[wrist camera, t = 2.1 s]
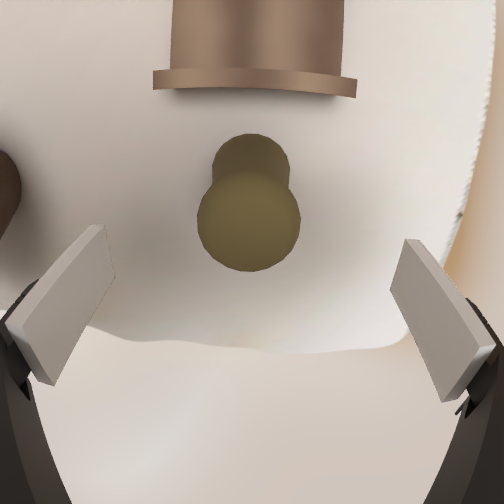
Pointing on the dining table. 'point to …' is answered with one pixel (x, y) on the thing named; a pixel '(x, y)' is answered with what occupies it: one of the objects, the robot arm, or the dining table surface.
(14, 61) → the dining table surface
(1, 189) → the plant pot
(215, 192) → the olive peg figure
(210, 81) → the spice rack
